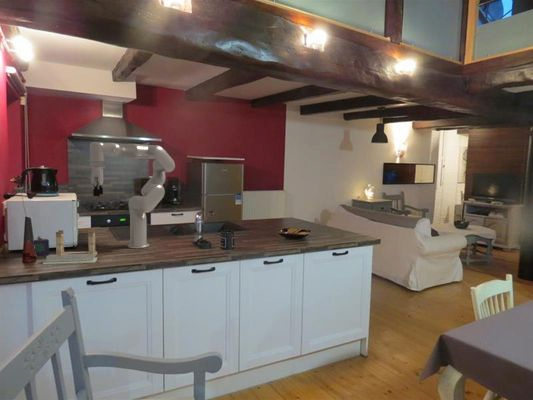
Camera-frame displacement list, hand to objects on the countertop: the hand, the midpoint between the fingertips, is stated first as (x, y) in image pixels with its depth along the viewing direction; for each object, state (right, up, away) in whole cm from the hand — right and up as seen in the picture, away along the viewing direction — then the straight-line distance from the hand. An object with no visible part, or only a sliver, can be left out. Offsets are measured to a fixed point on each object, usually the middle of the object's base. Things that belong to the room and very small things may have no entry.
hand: (98, 195), depth 206 cm
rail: (-8, -34, -14) cm, 38 cm away
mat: (-8, -35, -14) cm, 38 cm away
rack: (-11, -34, -3) cm, 35 cm away
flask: (-30, -33, -5) cm, 45 cm away
